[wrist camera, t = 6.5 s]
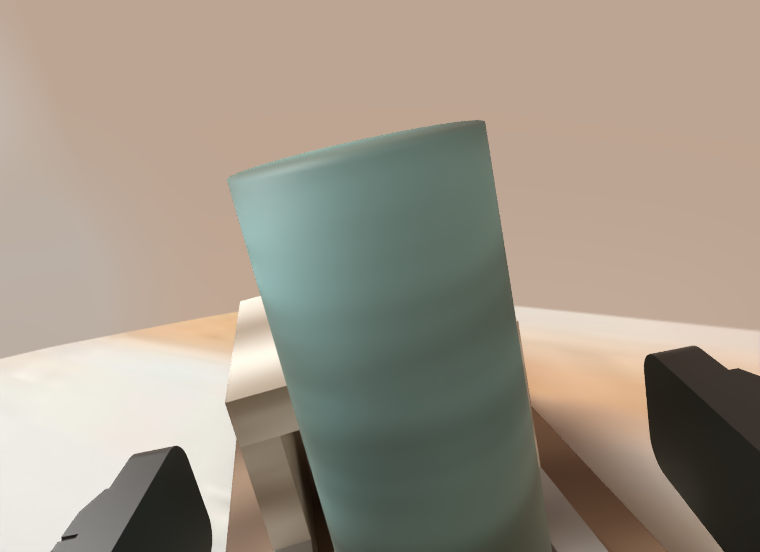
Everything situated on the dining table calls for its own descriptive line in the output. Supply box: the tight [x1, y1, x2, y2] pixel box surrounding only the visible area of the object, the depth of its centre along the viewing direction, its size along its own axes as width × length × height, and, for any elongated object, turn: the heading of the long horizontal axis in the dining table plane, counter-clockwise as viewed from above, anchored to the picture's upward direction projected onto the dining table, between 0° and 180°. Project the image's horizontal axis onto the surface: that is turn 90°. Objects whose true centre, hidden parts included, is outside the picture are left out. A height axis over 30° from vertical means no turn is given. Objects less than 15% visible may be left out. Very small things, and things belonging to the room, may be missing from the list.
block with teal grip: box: [227, 120, 552, 552], centre depth 17 cm, size 16×5×13 cm, turn 11°
